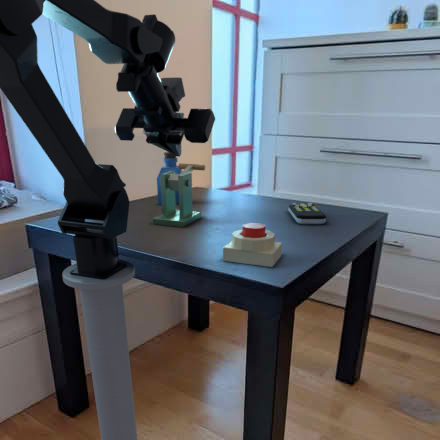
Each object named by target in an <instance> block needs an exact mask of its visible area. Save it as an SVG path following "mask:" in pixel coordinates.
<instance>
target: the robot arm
mask: <svg viewBox="0 0 440 440" xmlns="http://www.w3.org/2000/svg"><path fill="white" fill-rule="evenodd" d="M42 15H43V16H44V17H46V18H47V19H50V20H51V21H53V22H54V23H56V24H58V25H60V26H61V27H63V28H65V29H67V30H68V31H70V32H71V33H74V34H75V35H77V36H78V37H80V38H82V39H84V41H85V42H87V44H88V45H89V50H90V52H92V53H93V54H94V55H95V56H96V57H97V58H98V59H99V60H101V62H102V63H104V64H106V65H122V67H121V70H120V71H119V72H117V80H116V82H115V83H116V84H115V86H116V89H115V90H116V92H118V93H128V95H129V96H130V98H131V100H132V102H133V104H134V107H124V108H122V110H121V111H120V114H119V117H118V119H117V121H116V124H115V126H114V132H115V134H116V137H118V138H119V140H120V141H127V142H129V141H130V142H131V141H132V142H133V140H134V138H135V136H136V135H135V133H134V130H135V129H142V134H143V135H145V137H146V138H145V142H146V143H147V144H149V145H152V146H155V147H157V148H159V149H161V150H163V151H164V152H169V153H171V154H173V155H175V156H176V158H178V157H179V158H180V157H181V155H182V141H183V139H185V140H186V141H187V142H189V143H192V144H206V143H207V142H208V141H209V139H210V136H211V133H212V130H213V128H214V125H215V122H216V116H215V113H214V111H213V110H212V108H190V109H189V112H188V115H187V117H185V113H184V112H180V109H181V105H180V102H181V100H182V99H183V98H185V97H186V93H185V92H186V91H185V87H184V81H183V78H182V77H180V76H179V77H162V78H161V77H160V76H159V73H161V72H163V71H165V69H166V66H167V65H168V62H169V60H170V56H171V54H172V51H173V50H174V47H175V44H176V34H175V32H174V31H173V30H172V29H171V28H170V27H169V25H168V24H166V23H165V22H163V21H161V20H159V19H158V18H157V15H156V14H154V13H153V14H144V16H143V17H142V21H141V20H140V19H139V18H137V17H135V16H133V15H131V14H128V13H126V12H125V13H124V12H120V11H115V10H110V9H108V8H106V7H104V6H103V5H102V4H101V3H99V2H97V0H0V91H1V92H2V93H3V94H4V96H5V98H6V99H7V100H8V102H9V103H10V104H11V106H12V107H13V109H14V110H15V112H16V113H17V115H18V116H19V117H20V119H21V121H22V122H23V123H24V124H25V126H26V127H27V129H28V130H29V132H30V133H31V135H32V136H33V137H34V139H35V140H36V142H37V143H38V144H39V145H40V147H41V149H42V150H43V152H44V153H45V155H46V156H47V157H48V159H49V160H50V162H51V163H52V165H53V166H54V167H55V169H56V170H57V172H58V173H59V175H60V176H61V177H62V179H63V189H62V190H63V191H62V193H63V197H64V199H65V201H66V202H65V205H64V206H63V208H62V211H61V213H60V216H59V218H58V220H57V225H58V227H59V230H60V233H62V234H64V235H68V234H69V235H74V236H72V241H73V247H74V254H75V255H74V256H75V262H76V263H77V268H75V269H73V270H71V271H70V274H71V275H76V276H82V277H88V278H94V279H101V280H105V279H107V278H109V277H110V276H112V275H114V274H115V273H117V272H119V271H121V270H122V269H124V268H126V267H127V264H126V263H120V262H118V261H119V260H120V257H119V256H120V255H119V245H118V238H117V237H118V236H121V235H123V234H124V233H127V230H128V222H129V221H128V219H129V213H130V212H129V211H130V198H129V195H128V193H127V190H126V188H125V187H126V185H127V184H126V183H125V181H123V180H122V178H121V176H120V173H119V171H118V169H117V168H116V167H115V165H113V164H102V163H101V164H100V163H97V162H96V161H95V159H94V158H93V156H92V155H91V153H90V151H89V149H88V148H87V146H86V144H85V142H84V141H83V138H82V137H81V135H80V134H79V132H78V130H77V129H76V127H75V125H74V124H73V122H72V120H71V119H70V117H69V115H68V114H67V112H66V110H65V108H64V107H63V105H62V103H61V101H60V100H59V98H58V97H57V95H56V93H55V91H54V90H53V88H52V86H51V85H50V83H49V81H48V79H47V78H46V76H45V75H44V73H43V71H42V70H41V68H40V64H39V58H38V57H39V56H38V55H39V54H38V53H39V52H38V35H37V33H36V30H35V28H34V26H33V24H34V23H35V22H36V21H37V20H39V18H40V17H41V16H42ZM86 220H87V221H86ZM93 221H97V222H93ZM102 222H103V223H102ZM76 263H75V264H76Z"/></svg>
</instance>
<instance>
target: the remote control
mask: <svg viewBox="0 0 440 440" xmlns="http://www.w3.org/2000/svg"><path fill="white" fill-rule="evenodd" d="M288 213H290V215H291V216H292V218H293V219H294V221H295V222H296V223H297V224H300V225H323V224H325V223H326V222H327V216H326V214H325V213H324V212H323V211H321V210H320V209H319V208H318V207H317V206H316V205H315V204H313V203H312V202H308V203H295V202H293V203H291V204H289V205H288Z"/></svg>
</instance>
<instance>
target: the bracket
mask: <svg viewBox="0 0 440 440" xmlns="http://www.w3.org/2000/svg"><path fill="white" fill-rule="evenodd" d="M173 174H174V172H172V171H170V172H166V173H163V174H160V179H161V198H162V204H161V214H160V215H157V216H155V217H153V218H152V224H153V225H160V226H167V227H168V226H169V227H178V228H185V227H186V226H187V227H188V226H189V225H190V224H192V223H194V222H196V221H197V220H199V219H201V218H202V212H201V211H195V210H193V173H192V172H191V173H189V172H187V173H184V174H181V175H178V187H179V205H178V209H177V207H176V206H177V204H176V203H175V191H172V190H170V188H169V183H168V179H169V178H170V177H171V176H172V175H173Z"/></svg>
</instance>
